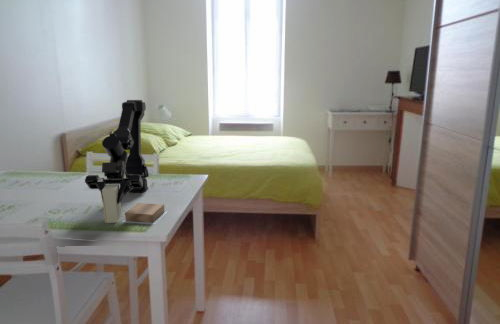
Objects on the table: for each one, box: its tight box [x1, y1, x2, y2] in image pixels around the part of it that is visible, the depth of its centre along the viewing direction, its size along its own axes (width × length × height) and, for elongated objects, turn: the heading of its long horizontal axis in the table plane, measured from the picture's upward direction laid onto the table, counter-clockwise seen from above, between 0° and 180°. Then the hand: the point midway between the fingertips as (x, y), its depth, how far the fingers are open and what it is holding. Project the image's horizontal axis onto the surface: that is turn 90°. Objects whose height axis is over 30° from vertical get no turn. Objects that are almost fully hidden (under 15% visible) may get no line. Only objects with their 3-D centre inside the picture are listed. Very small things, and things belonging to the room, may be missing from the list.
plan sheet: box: [121, 210, 169, 225], centre depth 131 cm, size 12×12×1 cm
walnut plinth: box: [124, 202, 165, 223], centre depth 130 cm, size 10×10×3 cm
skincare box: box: [101, 184, 123, 224], centre depth 127 cm, size 6×4×12 cm
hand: (110, 203), depth 126 cm, fingers closed on skincare box, 4 cm apart
